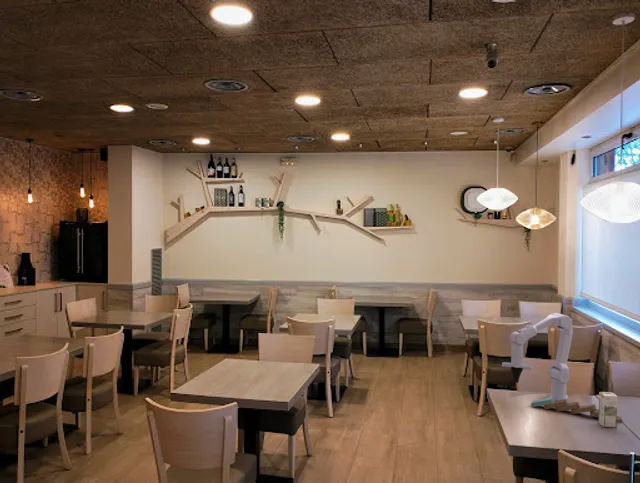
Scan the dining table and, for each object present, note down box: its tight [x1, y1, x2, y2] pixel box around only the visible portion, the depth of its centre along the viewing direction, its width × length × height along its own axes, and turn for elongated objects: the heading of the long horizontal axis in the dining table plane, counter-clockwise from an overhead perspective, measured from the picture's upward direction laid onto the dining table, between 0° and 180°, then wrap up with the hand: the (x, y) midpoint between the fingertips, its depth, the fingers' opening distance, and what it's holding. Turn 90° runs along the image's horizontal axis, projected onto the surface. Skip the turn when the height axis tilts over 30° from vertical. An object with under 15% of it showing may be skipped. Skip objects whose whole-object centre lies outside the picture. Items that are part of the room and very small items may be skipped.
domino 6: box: [596, 415, 623, 424], centre depth 251 cm, size 5×2×10 cm
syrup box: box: [597, 391, 619, 429], centre depth 242 cm, size 6×6×14 cm
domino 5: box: [589, 408, 599, 418], centre depth 250 cm, size 5×2×10 cm
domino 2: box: [542, 399, 568, 410], centre depth 263 cm, size 5×2×10 cm
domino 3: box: [554, 400, 581, 412], centre depth 260 cm, size 5×2×10 cm
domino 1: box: [530, 396, 555, 408], centre depth 266 cm, size 5×2×10 cm
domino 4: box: [570, 403, 597, 415], centre depth 256 cm, size 5×2×10 cm
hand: (516, 382), depth 276 cm, fingers closed
